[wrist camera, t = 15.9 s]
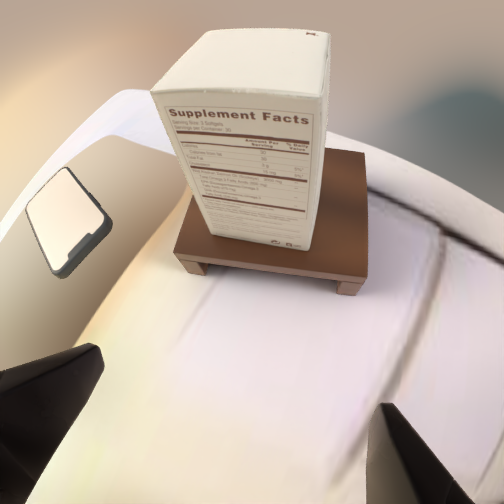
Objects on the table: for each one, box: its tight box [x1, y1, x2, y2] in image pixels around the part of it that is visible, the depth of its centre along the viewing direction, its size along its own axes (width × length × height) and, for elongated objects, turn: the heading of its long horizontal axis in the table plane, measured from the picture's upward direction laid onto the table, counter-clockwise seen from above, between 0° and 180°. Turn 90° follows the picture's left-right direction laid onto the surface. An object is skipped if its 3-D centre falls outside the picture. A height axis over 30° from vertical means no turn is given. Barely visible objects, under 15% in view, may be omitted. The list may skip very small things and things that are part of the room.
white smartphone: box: [25, 167, 113, 279], centre depth 29 cm, size 9×2×16 cm
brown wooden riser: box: [173, 148, 368, 296], centre depth 24 cm, size 12×14×4 cm
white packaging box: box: [150, 28, 331, 251], centre depth 17 cm, size 7×7×13 cm
